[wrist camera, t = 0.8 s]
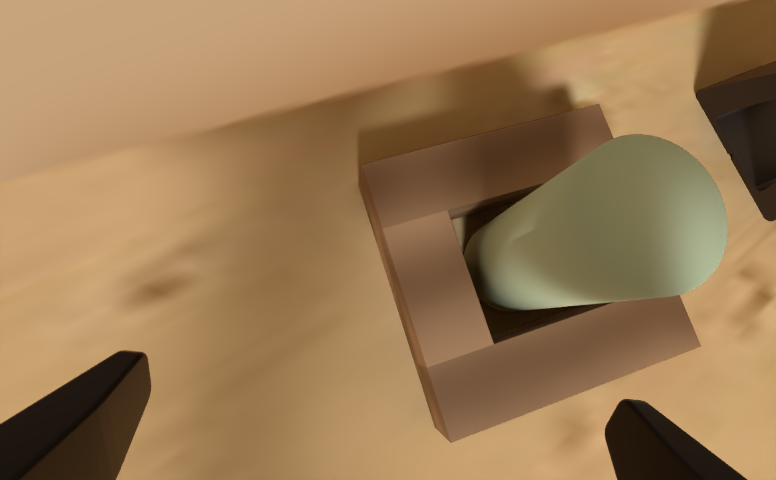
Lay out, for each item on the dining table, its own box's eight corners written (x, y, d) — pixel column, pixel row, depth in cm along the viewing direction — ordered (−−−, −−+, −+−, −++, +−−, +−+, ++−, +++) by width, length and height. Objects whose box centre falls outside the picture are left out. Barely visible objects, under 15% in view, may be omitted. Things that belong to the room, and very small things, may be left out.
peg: (569, 265, 24) (756, 214, 13) (512, 331, 23) (667, 334, 12) (503, 202, 24) (636, 103, 14) (444, 264, 23) (538, 210, 13)
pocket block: (656, 344, 24) (701, 346, 21) (434, 427, 22) (450, 442, 19) (568, 129, 26) (598, 103, 23) (358, 184, 24) (361, 164, 21)
